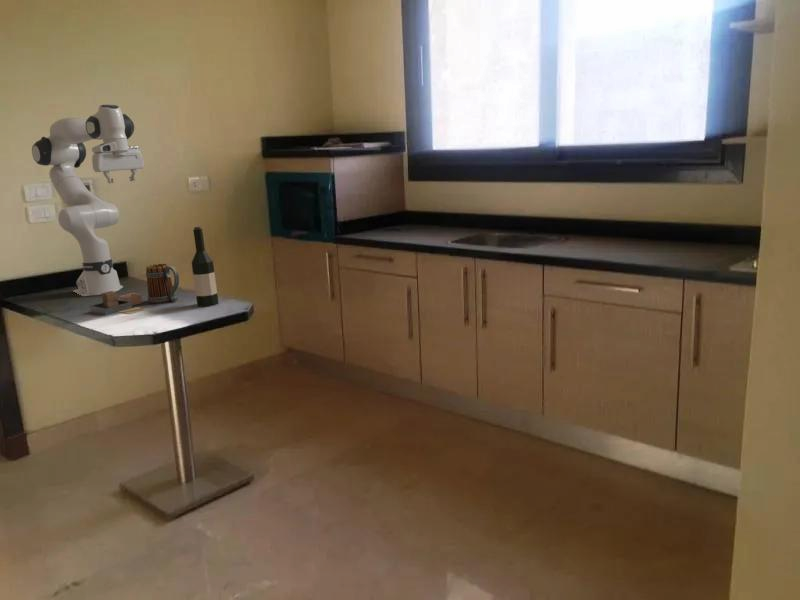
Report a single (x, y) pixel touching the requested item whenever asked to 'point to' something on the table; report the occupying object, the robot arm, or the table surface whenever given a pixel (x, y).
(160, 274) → the mug
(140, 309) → the light wooden board
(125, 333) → the table surface
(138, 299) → the terracotta pot
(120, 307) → the tin
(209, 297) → the wine bottle
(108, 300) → the walnut block
